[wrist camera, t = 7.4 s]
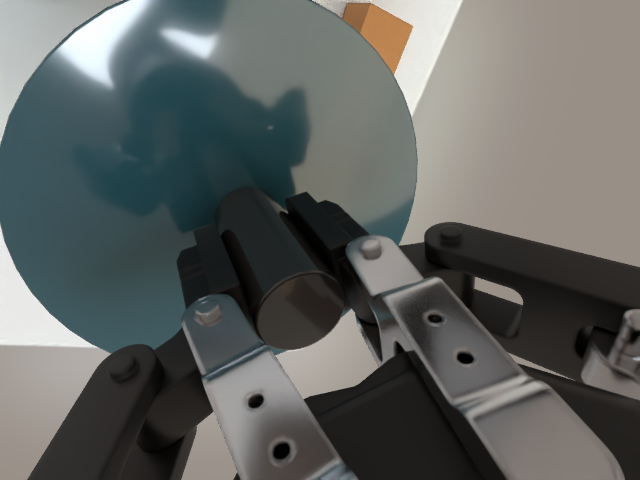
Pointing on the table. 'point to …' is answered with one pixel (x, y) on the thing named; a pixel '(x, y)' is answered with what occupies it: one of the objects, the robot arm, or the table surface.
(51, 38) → the table surface
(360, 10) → the orange rectangular block
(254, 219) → the lid
